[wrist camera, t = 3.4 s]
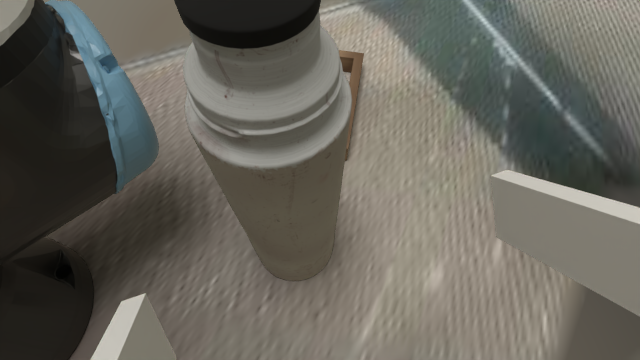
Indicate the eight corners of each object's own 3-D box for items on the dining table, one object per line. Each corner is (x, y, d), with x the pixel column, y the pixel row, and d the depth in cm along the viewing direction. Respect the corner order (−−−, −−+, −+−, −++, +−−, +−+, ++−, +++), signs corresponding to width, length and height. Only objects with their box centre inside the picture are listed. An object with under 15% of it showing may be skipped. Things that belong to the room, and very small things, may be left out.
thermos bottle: (289, 195, 38) (238, -106, 14) (347, 234, 36) (412, -41, 12) (241, 251, 35) (66, -9, 11) (303, 297, 33) (261, 105, 8)
